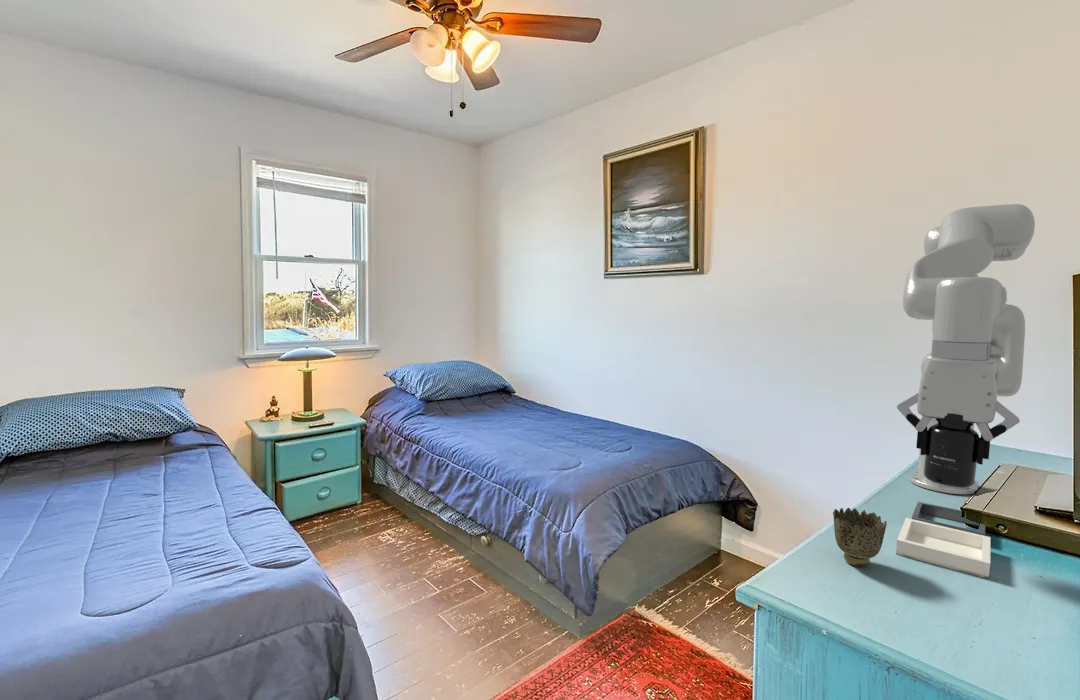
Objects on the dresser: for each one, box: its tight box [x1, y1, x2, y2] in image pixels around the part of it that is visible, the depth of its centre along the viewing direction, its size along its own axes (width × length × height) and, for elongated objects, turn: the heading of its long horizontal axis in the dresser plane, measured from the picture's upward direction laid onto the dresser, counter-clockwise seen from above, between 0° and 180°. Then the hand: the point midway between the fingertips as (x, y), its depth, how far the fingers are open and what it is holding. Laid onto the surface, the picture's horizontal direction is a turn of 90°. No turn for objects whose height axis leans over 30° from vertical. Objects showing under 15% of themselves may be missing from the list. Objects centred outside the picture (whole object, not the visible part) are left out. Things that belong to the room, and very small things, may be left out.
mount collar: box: [911, 501, 986, 536], centre depth 99 cm, size 11×11×2 cm
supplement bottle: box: [924, 413, 980, 488], centre depth 87 cm, size 7×7×12 cm
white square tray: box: [895, 517, 992, 580], centre depth 89 cm, size 12×12×2 cm
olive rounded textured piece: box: [832, 507, 888, 568], centre depth 85 cm, size 8×7×8 cm
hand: (951, 457), depth 87 cm, fingers closed on supplement bottle, 6 cm apart
